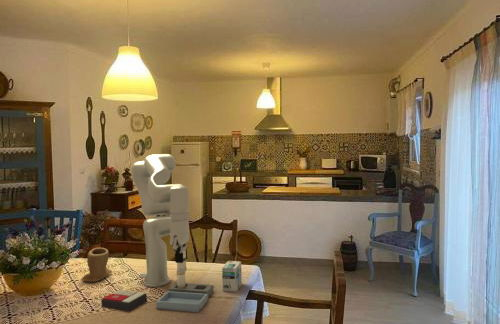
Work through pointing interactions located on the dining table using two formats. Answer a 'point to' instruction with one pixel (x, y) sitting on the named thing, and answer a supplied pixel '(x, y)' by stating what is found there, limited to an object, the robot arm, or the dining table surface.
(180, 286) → the fuse
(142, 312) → the dining table surface
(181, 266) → the cylinder
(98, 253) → the stone cup
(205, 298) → the parts tray
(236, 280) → the light bulb box
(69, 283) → the dining table surface
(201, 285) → the block
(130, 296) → the calculator
